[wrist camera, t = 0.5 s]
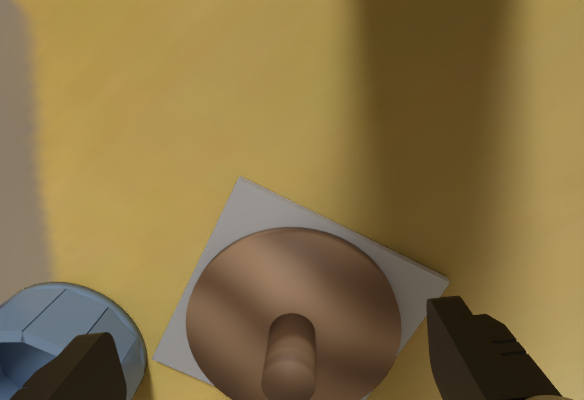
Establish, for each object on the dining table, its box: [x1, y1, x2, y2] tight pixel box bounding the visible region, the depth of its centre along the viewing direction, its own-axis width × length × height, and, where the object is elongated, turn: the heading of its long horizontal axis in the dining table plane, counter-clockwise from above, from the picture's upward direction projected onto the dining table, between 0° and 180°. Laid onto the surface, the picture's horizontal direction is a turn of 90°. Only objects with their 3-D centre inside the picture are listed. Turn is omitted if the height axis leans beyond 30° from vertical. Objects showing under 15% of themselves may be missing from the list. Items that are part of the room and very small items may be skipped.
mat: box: [152, 176, 450, 400], centre depth 32 cm, size 16×16×1 cm
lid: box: [186, 227, 402, 400], centre depth 29 cm, size 15×15×6 cm
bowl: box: [0, 282, 147, 400], centre depth 31 cm, size 12×12×6 cm
